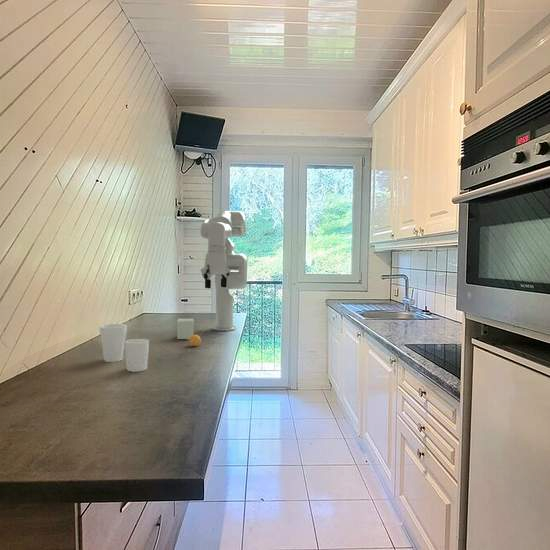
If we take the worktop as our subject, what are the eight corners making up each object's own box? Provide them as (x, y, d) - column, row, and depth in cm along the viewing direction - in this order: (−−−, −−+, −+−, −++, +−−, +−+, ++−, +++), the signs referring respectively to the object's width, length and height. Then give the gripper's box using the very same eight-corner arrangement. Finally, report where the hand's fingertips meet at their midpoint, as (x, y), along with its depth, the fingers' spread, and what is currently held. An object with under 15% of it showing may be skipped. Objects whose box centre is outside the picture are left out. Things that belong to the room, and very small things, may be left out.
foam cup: (94, 360, 147) (94, 326, 147) (114, 355, 156) (114, 322, 155) (111, 364, 143) (111, 329, 142) (131, 358, 151) (132, 325, 151)
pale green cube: (177, 336, 194) (177, 318, 194) (193, 336, 196) (193, 318, 196) (177, 339, 187) (177, 321, 186) (193, 339, 189) (194, 321, 188)
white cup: (152, 366, 142) (152, 339, 141) (142, 373, 134) (143, 344, 133) (131, 365, 142) (131, 338, 142) (120, 371, 135) (120, 342, 134)
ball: (189, 344, 177) (189, 333, 177) (200, 344, 178) (200, 333, 178) (189, 347, 172) (189, 336, 172) (201, 347, 173) (201, 335, 173)
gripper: (224, 250, 187) (223, 286, 188) (196, 249, 173) (195, 288, 174) (235, 250, 182) (235, 287, 183) (207, 249, 169) (207, 289, 170)
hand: (215, 287), depth 179 cm, fingers open, 9 cm apart
